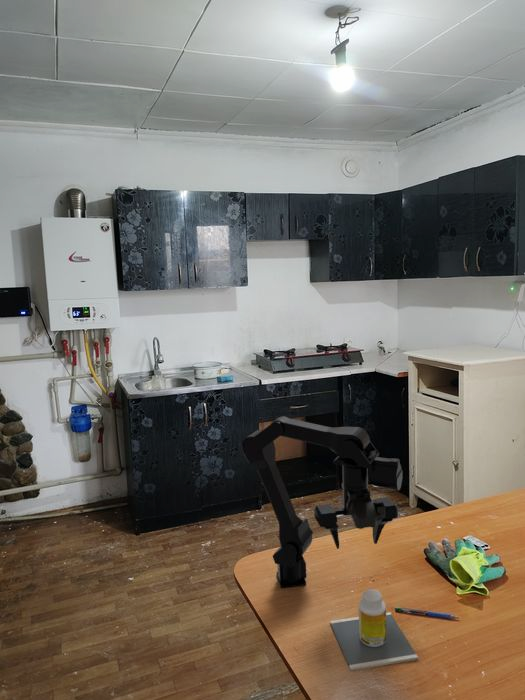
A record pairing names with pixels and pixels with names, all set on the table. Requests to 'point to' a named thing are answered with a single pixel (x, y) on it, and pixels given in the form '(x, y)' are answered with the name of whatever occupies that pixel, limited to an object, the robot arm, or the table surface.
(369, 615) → the supplement bottle
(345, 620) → the mat
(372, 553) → the table surface
